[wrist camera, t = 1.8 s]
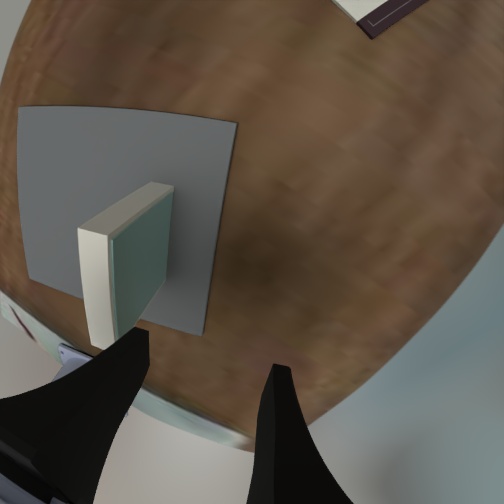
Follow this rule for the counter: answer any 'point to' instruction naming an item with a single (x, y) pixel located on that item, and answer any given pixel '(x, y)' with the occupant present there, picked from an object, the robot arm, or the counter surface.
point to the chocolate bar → (377, 13)
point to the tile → (124, 260)
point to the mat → (123, 193)
